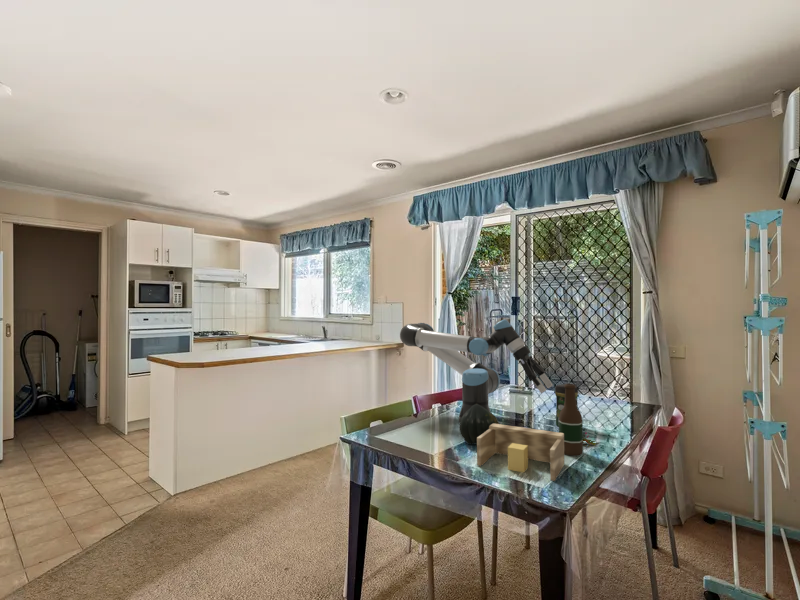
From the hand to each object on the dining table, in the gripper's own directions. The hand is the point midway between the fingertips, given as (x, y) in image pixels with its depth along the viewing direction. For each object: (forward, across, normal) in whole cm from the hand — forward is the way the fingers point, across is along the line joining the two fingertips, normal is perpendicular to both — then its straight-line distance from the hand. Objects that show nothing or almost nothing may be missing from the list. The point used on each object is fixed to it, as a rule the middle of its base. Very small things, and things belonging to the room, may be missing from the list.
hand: (547, 389), depth 185 cm
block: (+14, -60, +6) cm, 62 cm away
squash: (+3, -41, +23) cm, 47 cm away
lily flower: (+23, -21, -4) cm, 32 cm away
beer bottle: (+21, -35, -3) cm, 41 cm away
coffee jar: (+17, 0, +3) cm, 17 cm away
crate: (+14, -56, +6) cm, 58 cm away
